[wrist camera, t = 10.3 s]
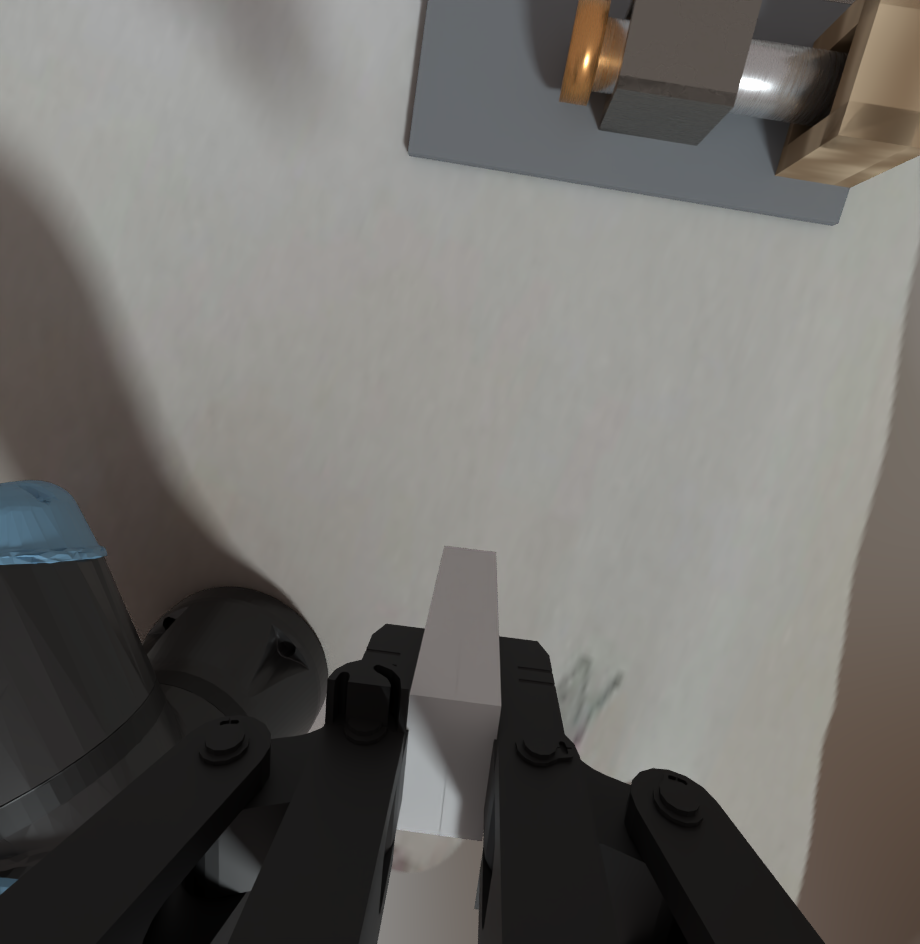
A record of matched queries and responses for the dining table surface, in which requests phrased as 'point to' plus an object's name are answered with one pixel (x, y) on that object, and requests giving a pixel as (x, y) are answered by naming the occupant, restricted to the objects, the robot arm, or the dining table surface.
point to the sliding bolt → (762, 84)
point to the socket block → (864, 99)
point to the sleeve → (680, 68)
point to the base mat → (595, 112)
